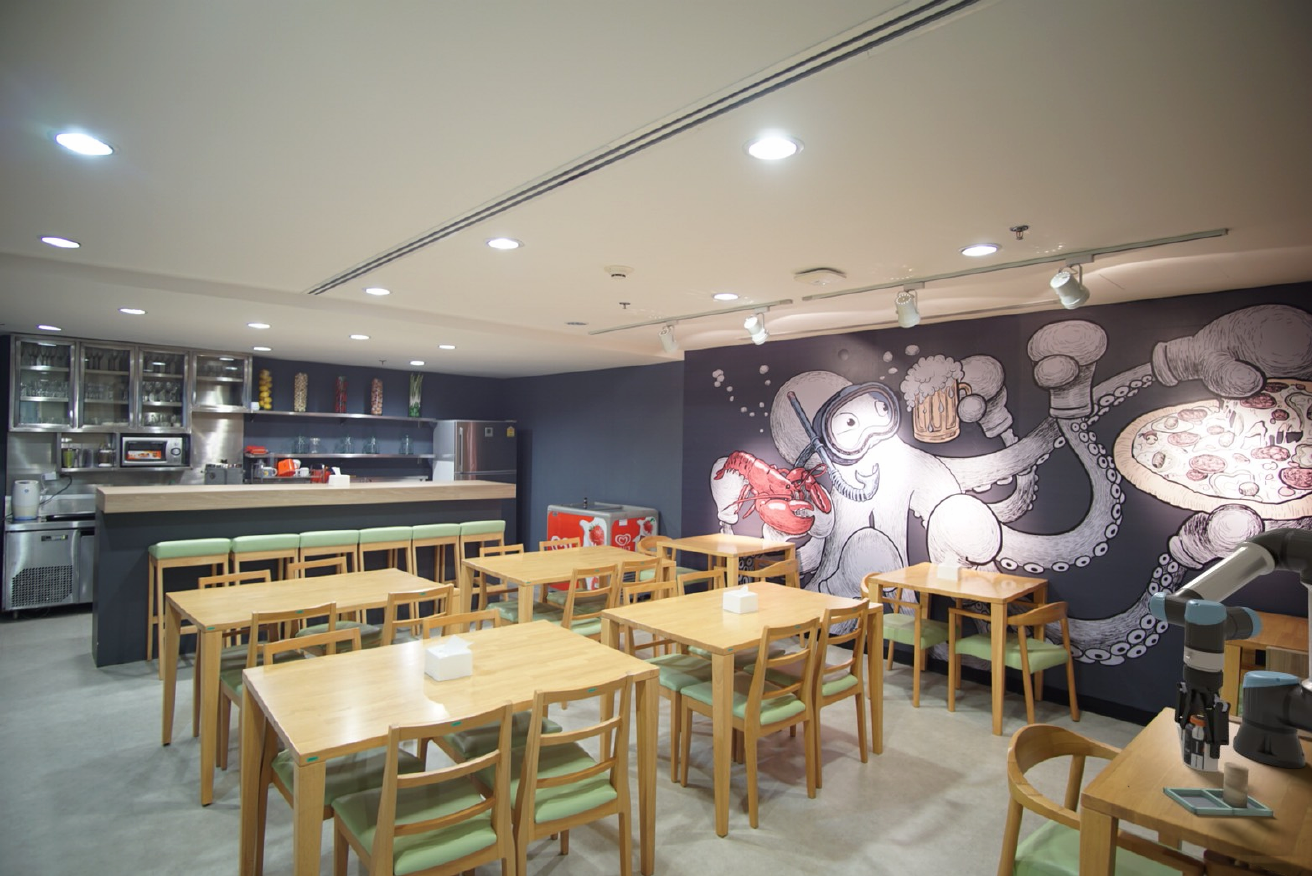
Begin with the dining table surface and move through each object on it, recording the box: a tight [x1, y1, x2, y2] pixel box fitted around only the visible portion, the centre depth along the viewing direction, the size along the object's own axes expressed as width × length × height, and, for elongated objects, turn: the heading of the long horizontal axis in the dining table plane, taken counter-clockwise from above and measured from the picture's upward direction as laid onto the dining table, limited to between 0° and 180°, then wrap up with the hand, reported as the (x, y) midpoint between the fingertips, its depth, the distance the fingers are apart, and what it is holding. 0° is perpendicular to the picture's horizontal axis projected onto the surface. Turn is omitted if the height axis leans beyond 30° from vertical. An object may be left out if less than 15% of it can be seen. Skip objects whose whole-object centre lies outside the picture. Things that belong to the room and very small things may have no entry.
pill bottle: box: [1184, 714, 1214, 771], centre depth 163 cm, size 6×6×11 cm
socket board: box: [1162, 786, 1274, 817], centre depth 164 cm, size 18×10×2 cm, turn 90°
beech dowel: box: [1222, 761, 1249, 808], centre depth 164 cm, size 4×4×9 cm
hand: (1199, 763), depth 163 cm, fingers closed on pill bottle, 6 cm apart
